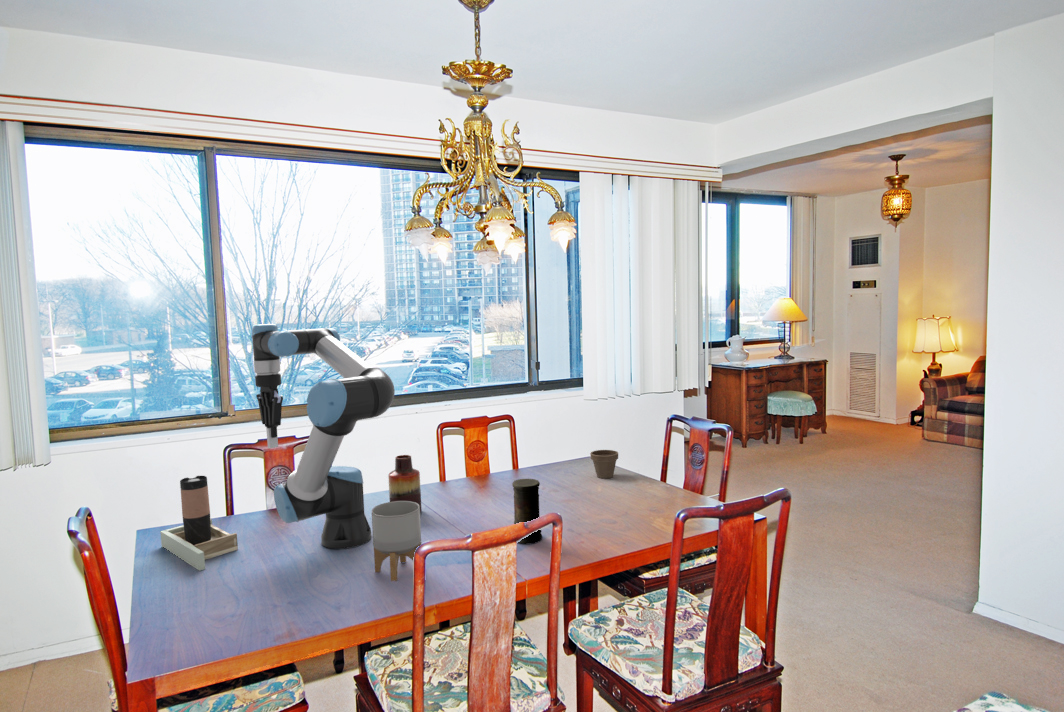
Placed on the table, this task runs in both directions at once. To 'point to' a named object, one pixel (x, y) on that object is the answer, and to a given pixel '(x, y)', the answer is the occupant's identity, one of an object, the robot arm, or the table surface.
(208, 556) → the tray
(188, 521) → the travel mug
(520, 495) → the container
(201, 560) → the bay
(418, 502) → the vase
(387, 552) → the planter
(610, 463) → the flower pot
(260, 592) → the table surface
